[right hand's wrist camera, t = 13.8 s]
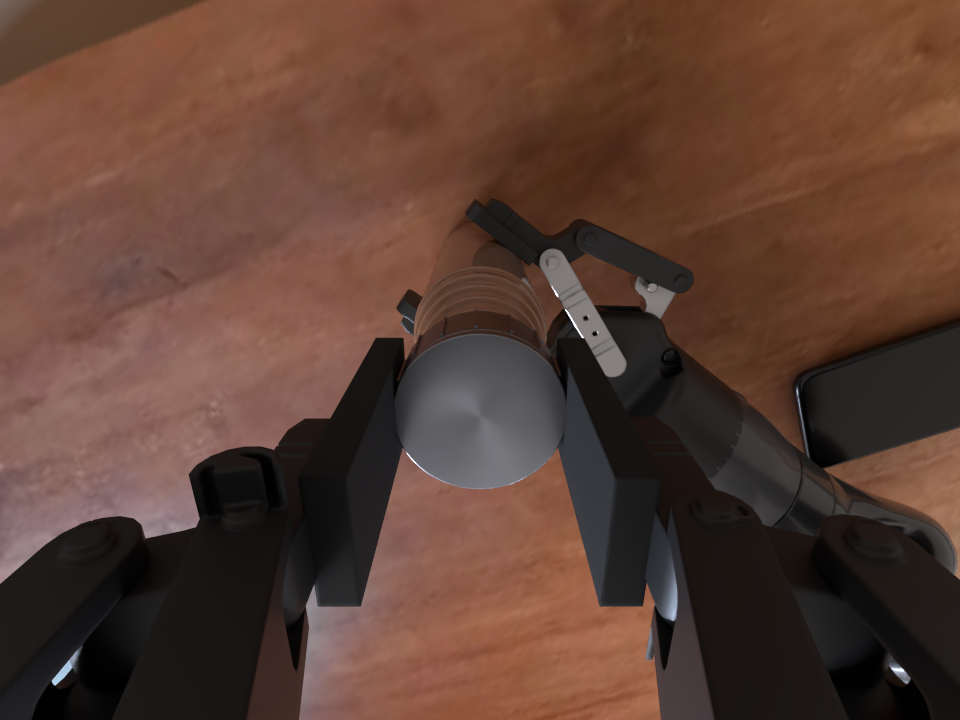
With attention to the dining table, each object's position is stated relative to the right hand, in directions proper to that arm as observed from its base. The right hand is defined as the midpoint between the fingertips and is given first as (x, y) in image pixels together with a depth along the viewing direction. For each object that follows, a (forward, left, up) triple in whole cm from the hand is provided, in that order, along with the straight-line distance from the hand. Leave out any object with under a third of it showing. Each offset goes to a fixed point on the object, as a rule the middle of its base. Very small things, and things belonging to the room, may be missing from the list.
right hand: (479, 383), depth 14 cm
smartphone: (+25, +17, -18) cm, 35 cm away
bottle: (0, 0, -18) cm, 18 cm away
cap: (0, 0, +2) cm, 2 cm away
